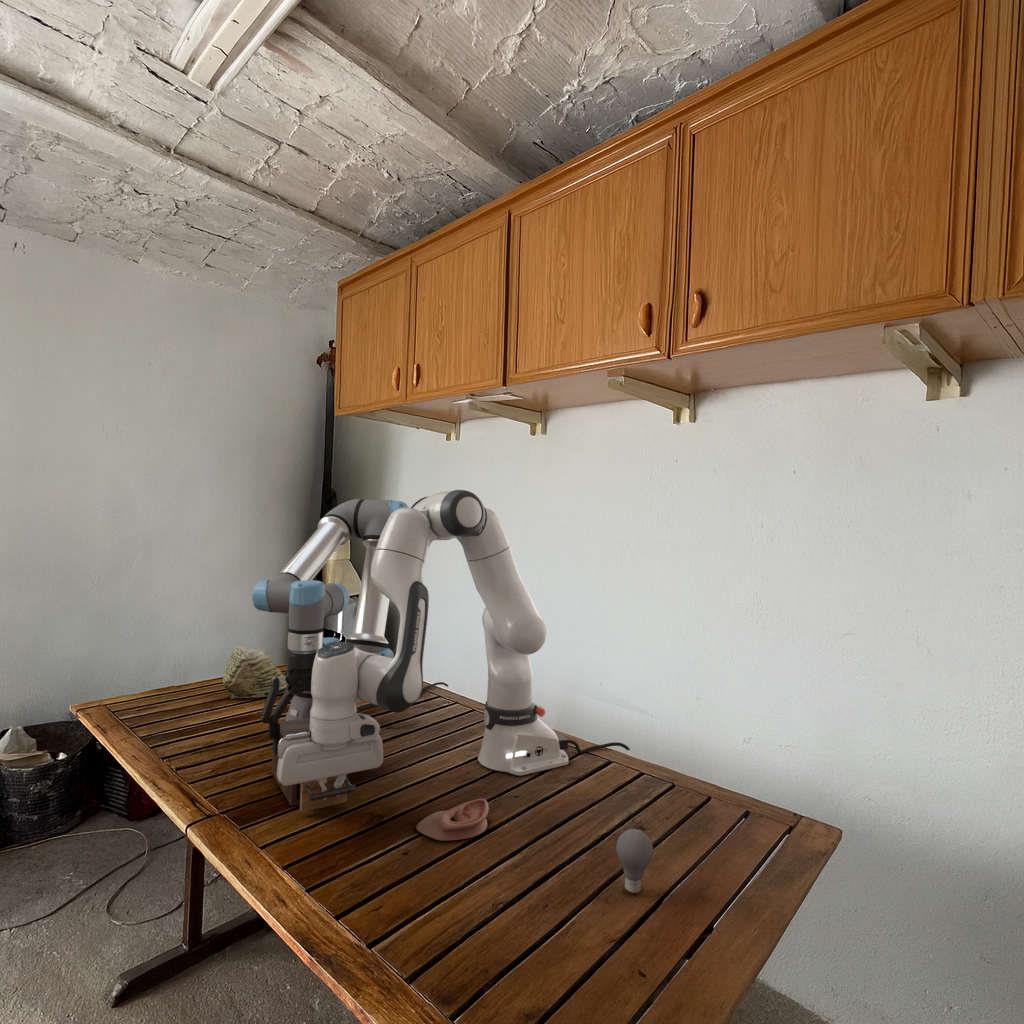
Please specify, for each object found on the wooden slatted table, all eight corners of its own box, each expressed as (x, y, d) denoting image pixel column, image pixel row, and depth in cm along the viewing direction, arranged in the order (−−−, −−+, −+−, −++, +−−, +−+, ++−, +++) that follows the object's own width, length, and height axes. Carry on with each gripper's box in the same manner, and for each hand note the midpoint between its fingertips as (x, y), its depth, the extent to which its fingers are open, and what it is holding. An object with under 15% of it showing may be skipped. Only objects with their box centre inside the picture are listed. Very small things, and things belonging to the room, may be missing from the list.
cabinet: (340, 795, 135) (342, 741, 135) (290, 806, 129) (293, 750, 129) (317, 764, 150) (319, 715, 149) (271, 773, 144) (273, 722, 144)
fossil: (218, 695, 195) (220, 647, 195) (278, 685, 208) (279, 640, 207) (228, 703, 189) (230, 653, 188) (289, 692, 201) (290, 645, 201)
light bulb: (610, 879, 108) (613, 822, 108) (644, 879, 109) (647, 822, 109) (619, 902, 102) (622, 840, 102) (655, 901, 103) (658, 840, 103)
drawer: (356, 813, 125) (357, 766, 125) (309, 825, 120) (310, 775, 120) (323, 771, 143) (325, 730, 143) (281, 780, 138) (283, 737, 138)
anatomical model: (410, 815, 119) (430, 788, 131) (410, 836, 119) (430, 807, 131) (479, 825, 117) (493, 797, 128) (478, 847, 117) (492, 817, 128)
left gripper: (254, 658, 133) (250, 763, 133) (360, 649, 145) (356, 744, 146) (247, 651, 139) (243, 750, 140) (349, 642, 152) (345, 734, 152)
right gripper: (281, 741, 116) (278, 816, 116) (387, 724, 127) (385, 792, 127) (274, 730, 121) (271, 801, 122) (376, 714, 132) (374, 780, 132)
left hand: (301, 747), depth 143 cm, fingers closed on cabinet, 10 cm apart
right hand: (330, 797), depth 124 cm, fingers closed, pressing on drawer
